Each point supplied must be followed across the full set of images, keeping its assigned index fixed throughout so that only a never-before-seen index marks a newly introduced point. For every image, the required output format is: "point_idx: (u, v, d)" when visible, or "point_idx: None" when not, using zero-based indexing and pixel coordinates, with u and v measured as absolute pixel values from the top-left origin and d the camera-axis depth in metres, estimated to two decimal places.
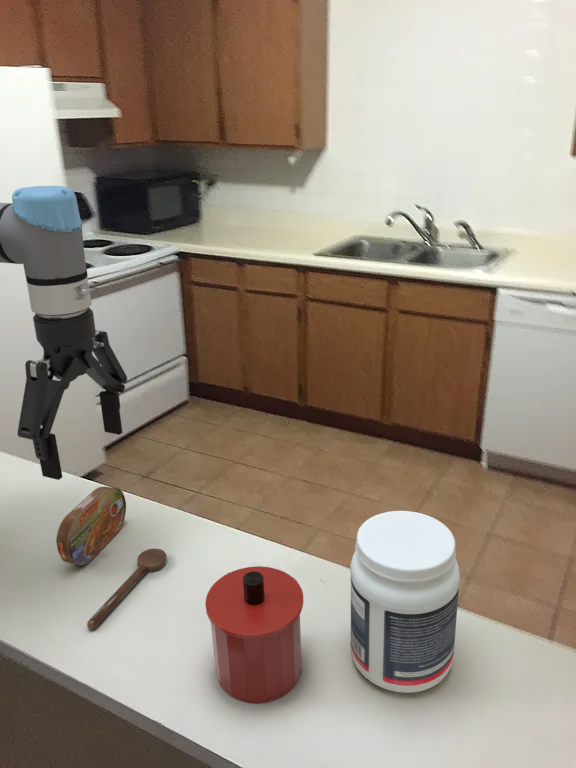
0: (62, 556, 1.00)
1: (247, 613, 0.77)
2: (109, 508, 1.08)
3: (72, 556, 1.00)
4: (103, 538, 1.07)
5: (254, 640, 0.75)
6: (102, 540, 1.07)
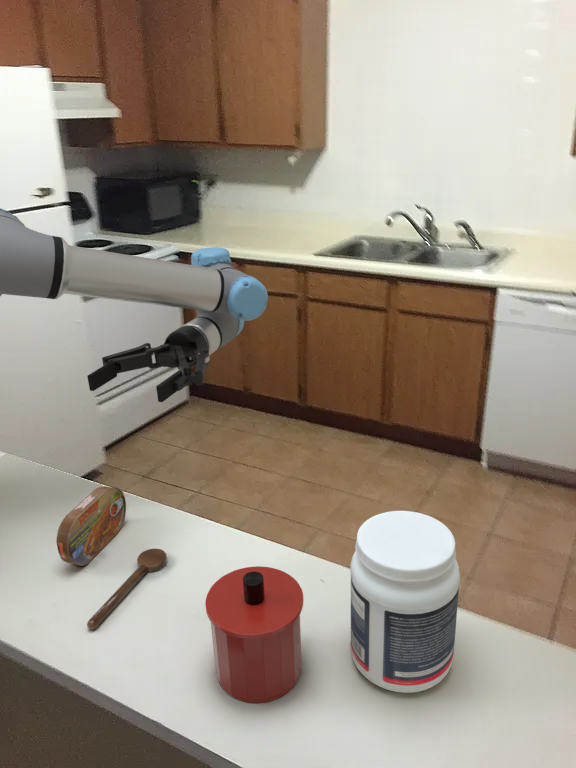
0: (62, 556, 1.00)
1: (247, 613, 0.77)
2: (109, 508, 1.08)
3: (72, 556, 1.00)
4: (103, 538, 1.07)
5: (254, 640, 0.75)
6: (102, 540, 1.07)
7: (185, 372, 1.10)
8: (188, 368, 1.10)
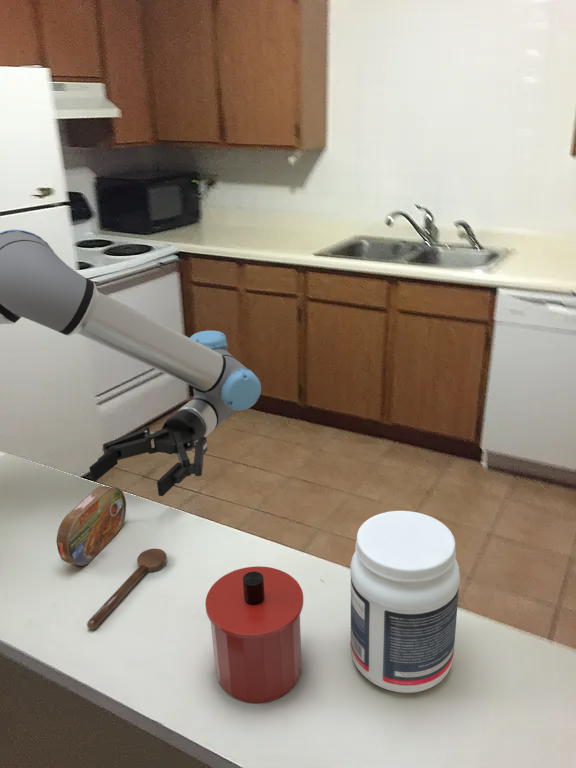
0: (62, 556, 1.00)
1: (247, 613, 0.77)
2: (109, 508, 1.08)
3: (72, 556, 1.00)
4: (103, 538, 1.07)
5: (254, 640, 0.75)
6: (102, 540, 1.07)
7: (184, 464, 1.15)
8: (187, 460, 1.15)
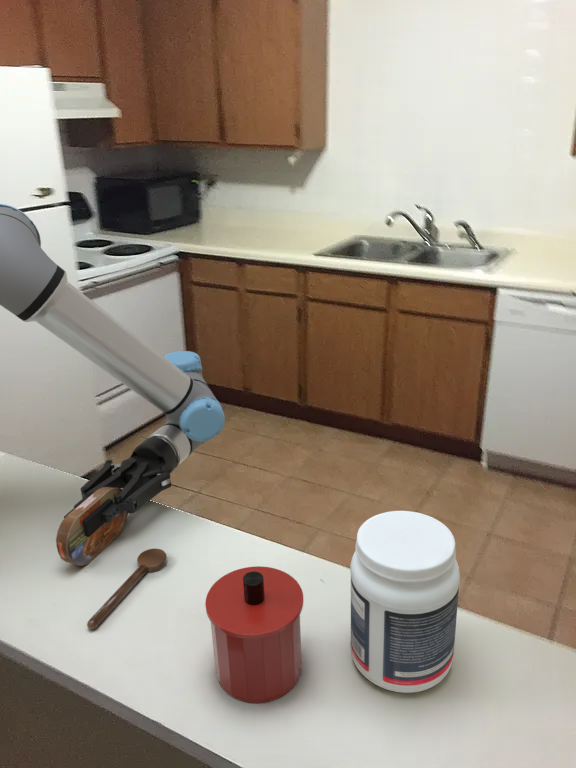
0: (61, 555, 1.00)
1: (247, 613, 0.77)
2: None
3: (71, 556, 1.00)
4: (104, 539, 1.07)
5: (254, 640, 0.75)
6: (103, 540, 1.07)
7: (114, 500, 1.06)
8: (117, 497, 1.06)
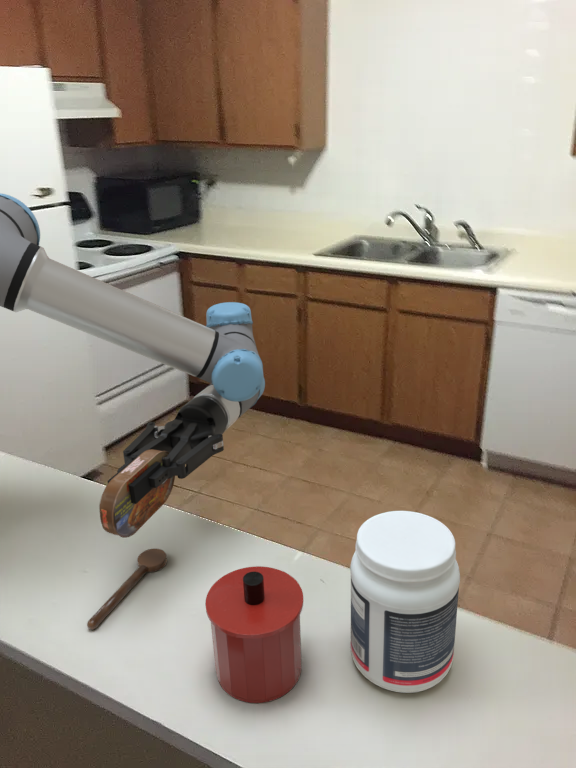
0: (104, 525, 0.86)
1: (247, 613, 0.77)
2: None
3: (116, 526, 0.87)
4: (149, 508, 0.93)
5: (254, 640, 0.75)
6: (148, 510, 0.93)
7: None
8: (166, 459, 0.92)
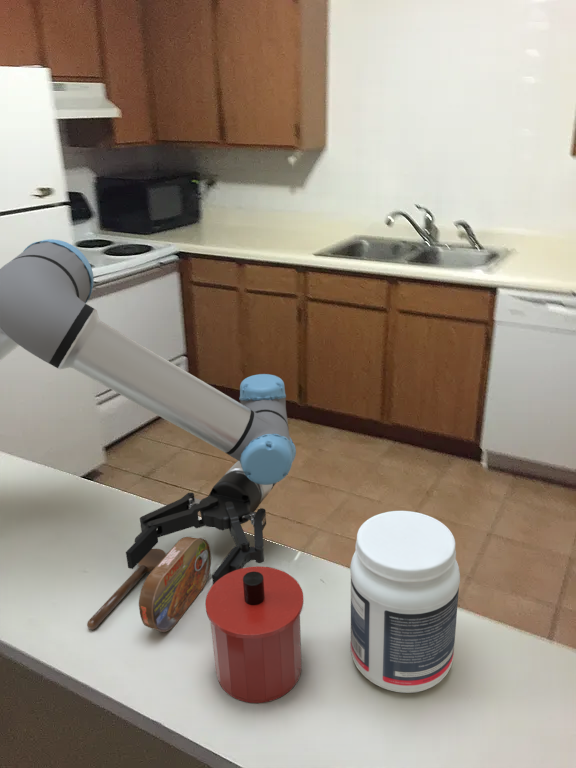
0: (145, 621, 0.87)
1: (247, 613, 0.77)
2: (194, 562, 0.95)
3: (156, 622, 0.87)
4: (187, 597, 0.94)
5: (254, 640, 0.75)
6: (186, 599, 0.94)
7: (243, 548, 0.93)
8: (247, 544, 0.92)
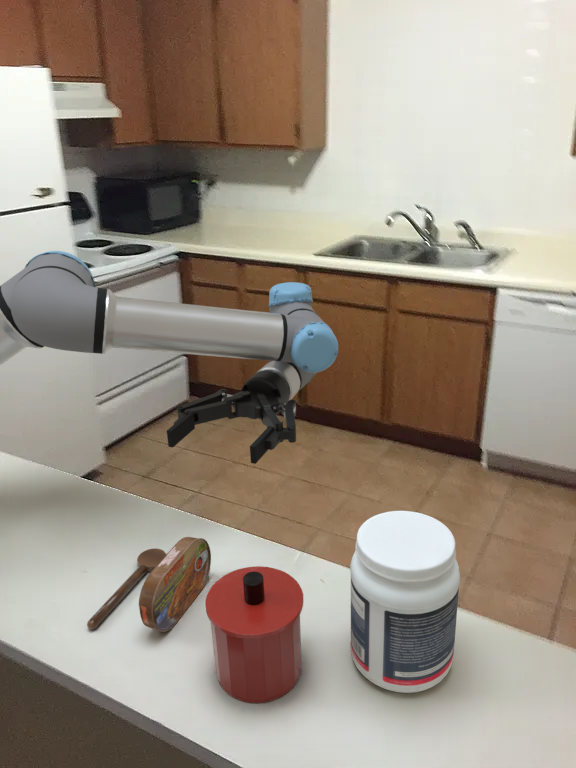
0: (145, 621, 0.87)
1: (247, 613, 0.77)
2: (194, 562, 0.95)
3: (156, 622, 0.87)
4: (187, 597, 0.94)
5: (254, 640, 0.75)
6: (186, 599, 0.94)
7: (277, 428, 0.98)
8: (281, 423, 0.98)
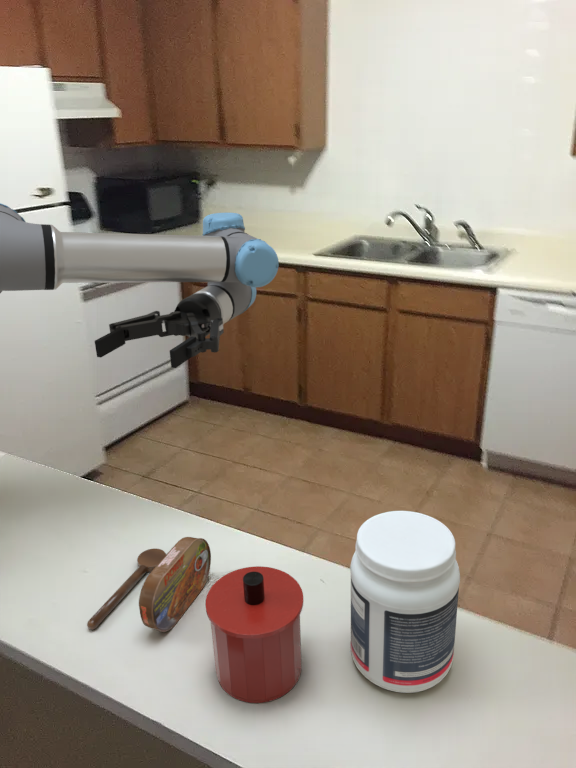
0: (145, 621, 0.87)
1: (247, 613, 0.77)
2: (194, 562, 0.95)
3: (156, 622, 0.87)
4: (187, 597, 0.94)
5: (254, 640, 0.75)
6: (186, 599, 0.94)
7: (199, 338, 1.04)
8: (202, 333, 1.04)
